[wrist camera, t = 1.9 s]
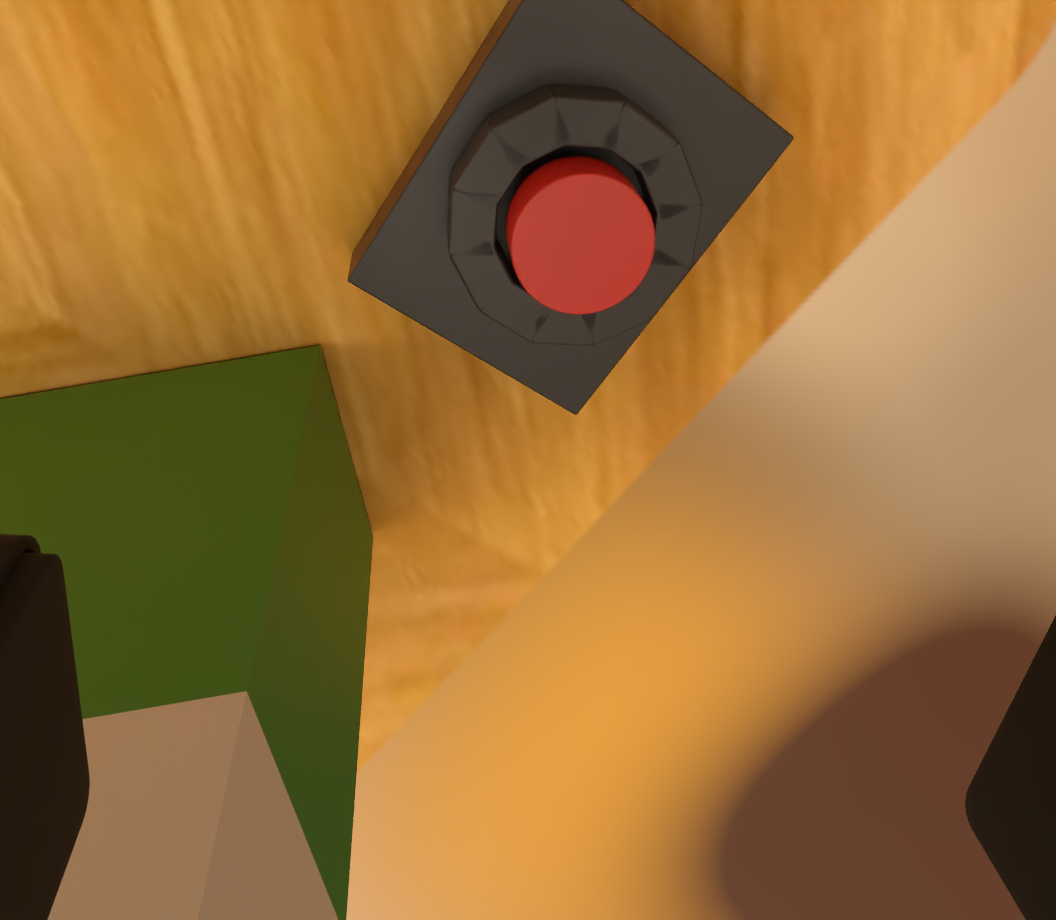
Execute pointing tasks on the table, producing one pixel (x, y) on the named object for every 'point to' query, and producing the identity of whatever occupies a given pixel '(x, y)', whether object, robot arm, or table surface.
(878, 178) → the table surface
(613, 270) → the power button
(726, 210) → the power block
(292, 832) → the hardback book
